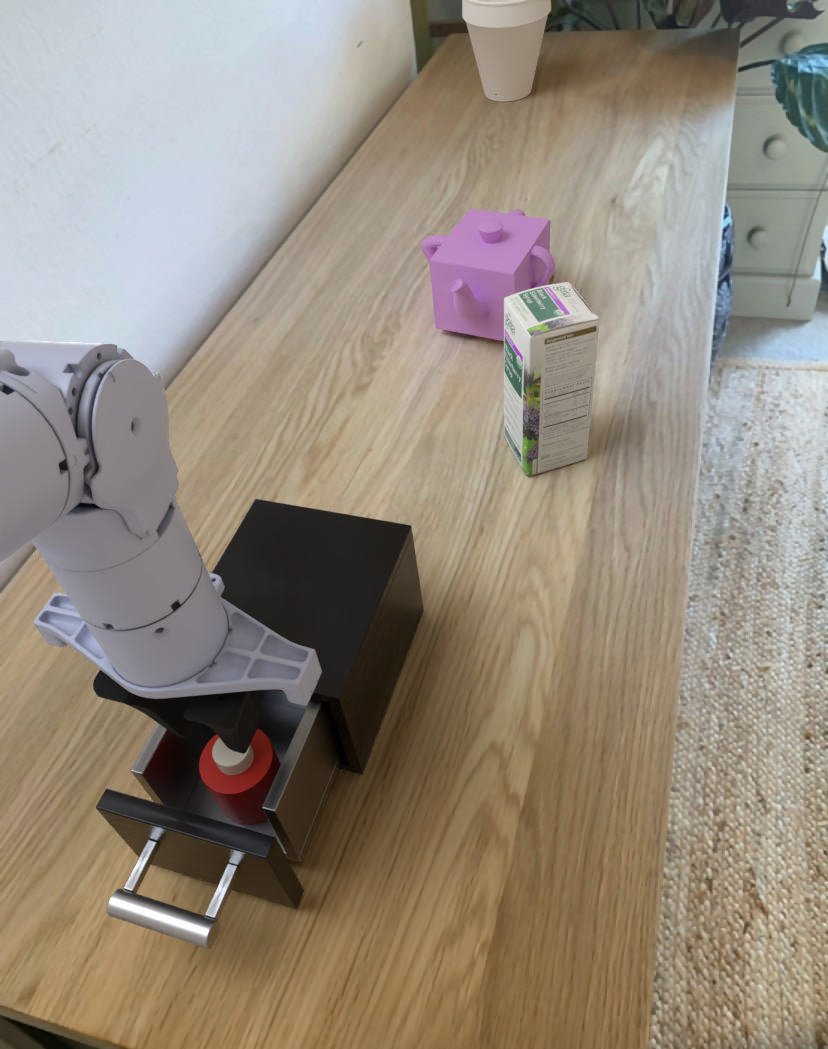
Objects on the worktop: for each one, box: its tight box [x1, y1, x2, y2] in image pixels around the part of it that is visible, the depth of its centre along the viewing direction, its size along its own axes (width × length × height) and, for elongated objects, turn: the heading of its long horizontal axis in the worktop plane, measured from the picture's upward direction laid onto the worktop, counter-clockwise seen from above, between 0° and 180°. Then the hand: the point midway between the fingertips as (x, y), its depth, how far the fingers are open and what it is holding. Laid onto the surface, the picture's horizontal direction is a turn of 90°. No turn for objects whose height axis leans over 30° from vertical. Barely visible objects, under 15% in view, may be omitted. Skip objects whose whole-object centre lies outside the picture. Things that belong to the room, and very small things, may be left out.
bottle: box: [199, 729, 281, 824], centre depth 51 cm, size 4×4×6 cm
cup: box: [461, 0, 552, 103], centre depth 121 cm, size 12×12×14 cm
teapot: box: [420, 208, 556, 342], centre depth 85 cm, size 18×14×10 cm
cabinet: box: [211, 498, 425, 776], centre depth 58 cm, size 14×12×10 cm
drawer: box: [95, 689, 345, 950], centre depth 50 cm, size 17×10×8 cm, turn 162°
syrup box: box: [503, 281, 600, 477], centre depth 69 cm, size 6×6×14 cm
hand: (219, 729), depth 48 cm, fingers open, 3 cm apart
